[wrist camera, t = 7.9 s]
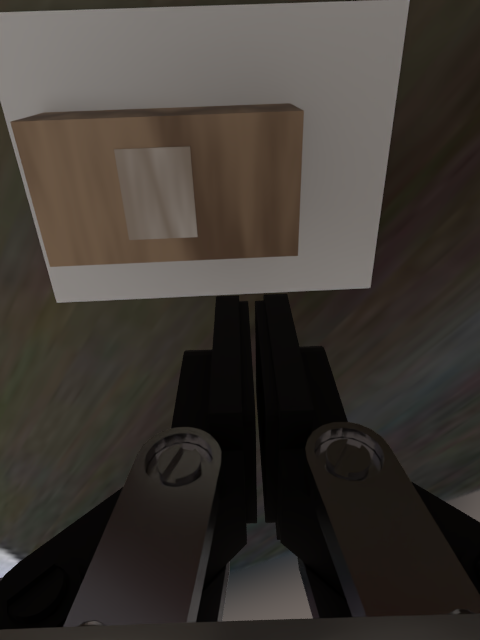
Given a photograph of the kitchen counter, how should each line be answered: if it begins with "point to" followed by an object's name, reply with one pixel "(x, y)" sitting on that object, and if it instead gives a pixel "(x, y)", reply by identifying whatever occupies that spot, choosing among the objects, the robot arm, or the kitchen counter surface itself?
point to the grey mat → (224, 90)
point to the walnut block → (164, 182)
